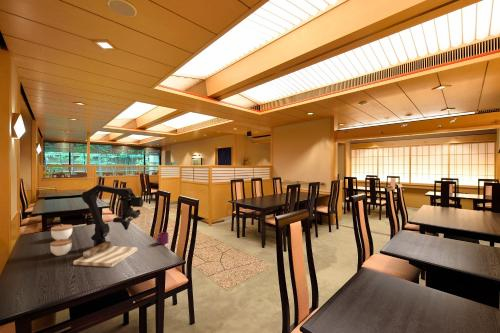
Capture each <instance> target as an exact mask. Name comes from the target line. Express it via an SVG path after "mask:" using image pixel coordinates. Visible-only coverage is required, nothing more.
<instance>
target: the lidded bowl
mask: <svg viewBox="0 0 500 333" xmlns="http://www.w3.org/2000/svg"><path fill="white" fill-rule="evenodd" d="M72 233H73V225H72V224H63V223H60V225H55V226H52V227H51V228H50V234H51V238H52V239H54V241H56V240H60V239H69V238H70V237H71V235H72Z"/></svg>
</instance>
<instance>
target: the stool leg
mask: <svg viewBox="0 0 500 333" xmlns="http://www.w3.org/2000/svg"><path fill="white" fill-rule="evenodd" d="M110 246H112V240H111V241H107V240H106V242H104V243H102V244H100V245H98V246H95V247H93V248H92V247H91V248H88V249H87V250H85V251H83V252H82V257H83V258H88V257H90V256H92V255H94V254H96V253H98V252H100V251H102V250H104V249H106V248H108V247H110Z"/></svg>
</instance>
